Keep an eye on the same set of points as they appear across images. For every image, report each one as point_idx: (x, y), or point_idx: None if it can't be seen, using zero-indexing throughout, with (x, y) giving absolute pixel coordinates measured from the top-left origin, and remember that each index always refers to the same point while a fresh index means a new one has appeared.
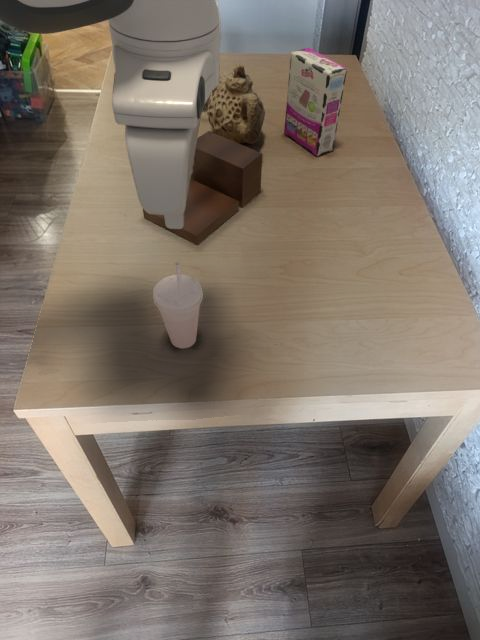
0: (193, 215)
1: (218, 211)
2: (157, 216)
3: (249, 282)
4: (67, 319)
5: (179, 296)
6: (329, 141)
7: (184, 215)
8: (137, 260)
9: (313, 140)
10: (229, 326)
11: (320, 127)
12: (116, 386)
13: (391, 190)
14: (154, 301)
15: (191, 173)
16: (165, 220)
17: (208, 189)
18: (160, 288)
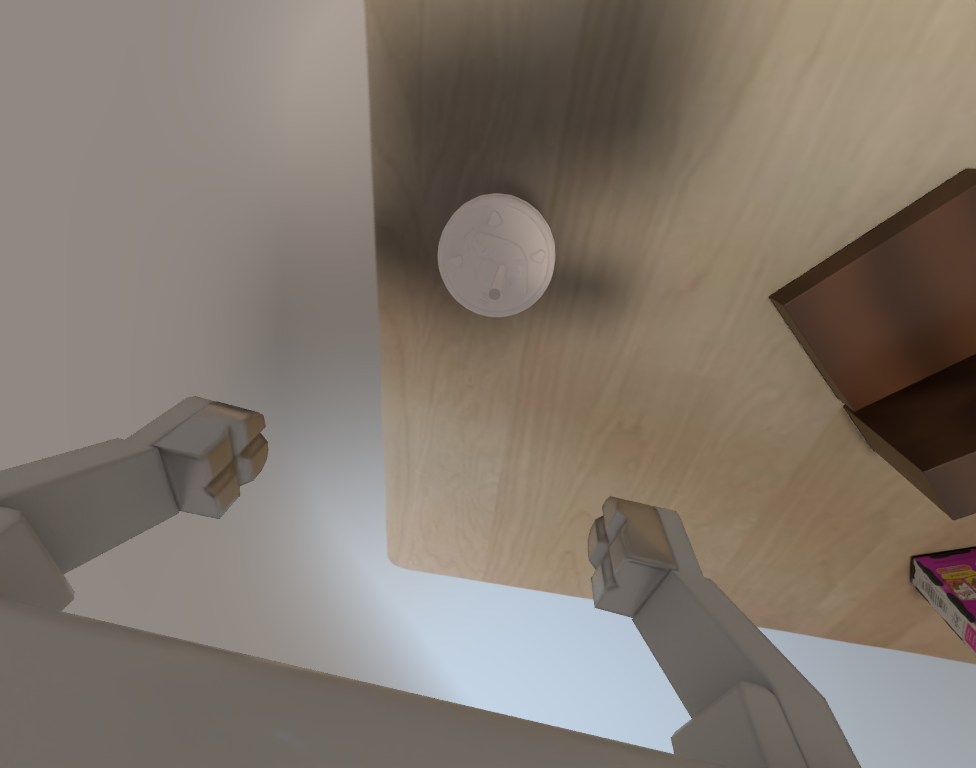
0: (867, 309)
1: (845, 365)
2: (927, 214)
3: (617, 372)
4: None
5: (475, 264)
6: (930, 596)
7: (246, 480)
8: (789, 138)
9: (956, 580)
10: (520, 319)
11: (971, 617)
12: (404, 69)
13: (744, 604)
14: (485, 195)
15: (590, 539)
16: (161, 416)
17: (949, 359)
18: (514, 218)
